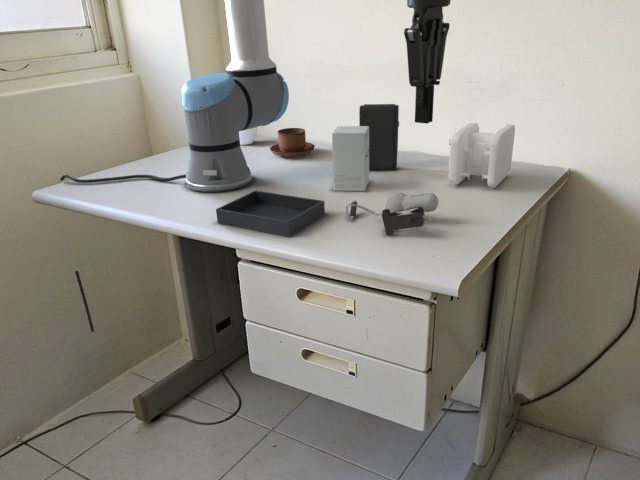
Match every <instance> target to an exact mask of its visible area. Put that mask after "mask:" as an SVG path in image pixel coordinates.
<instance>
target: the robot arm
mask: <svg viewBox="0 0 640 480" xmlns="http://www.w3.org/2000/svg"><path fill="white" fill-rule="evenodd" d="M224 3H225V4H224V6H225V13H226V21H227V29H228V30H227V31H228V37H229V46H230V48H229V49H230V55H231V61H230V62H229V64H228V65H227V67H225V69H226V73H225V72H218V73H211V74H204V75H200V76H196V77H194V78H191V79H189V80H187V81H186V82H185V83H184V84H183V86H182V88H181V101H182V102H181V107H182V109H183V113H184V114H183V115H184V120H185V128H186V135H187V141H188V146H189V156H188V165H187V171H186V174H180V175H175V176H172V177H160V176H157V175H153V174H144V173H143V174H130V175H121V176H115V177H114V176H112V177H101V178H91V179H90V178H88V179H80V178H76V177H74V176H72V175H71V174H63V175H62V176H61V177H60V178H59V181H64V180H65V179H66V178H67V179H70V180H71V181H74V182H76V183H80V184H85V183H86V184H88V183H89V184H90V183H101V182H112V181H122V180H129V179H130V180H131V179H144V178H145V179H153V180H156V181H161V182H172V181H177V180H180V179H185V183H186V187H187V188H188V189H190V190H193V191H196V192H202V193H219V192H227V191H232V190H237V189H241V188H243V187H245V186H247V185H249V184H250V183H251V182H252V180H253V179H252V172H251V168H250V167H249V166H248V164H247V159H246V158H245V155H244V153H243V151H242V148H241V145H240V138H239V131H243V130H247V129H251V128H254V127H257V128H258V127H265V126H268V125H270V124H272V123H274V122H276V121H278V120H280V119H281V118H282V117H283V115H285V113H286V111H287V108H288V105H289V100H290V92H289V86H288V83H287V82H286V81H285V79H284V76H283V75H282V74H281V73H279V72H278V71H277V64H276V63H275V61H273V60H272V59H271V57H270V55H269V54H270V52H269V43H268V32H267V21H266V20H267V19H266V10H265V0H224ZM406 5H407V7H408V8H410V9H413V14H412V17H411V18H412V19H411V24H412V25H411V26H410V27H405V28H404V30H403V36H404V38H405V43H406V55H407V56H406V57H407V71H408V83H409V85H410V87H412V88H413V87H414V88H415V100H414V101H415V102H414V103H415V105H414V123H418V124H430V123H432V122H433V118H434V100H435V99H434V97H435V96H434V95H435V86H440V84H441V81H440V80H441V78H442V72H443V65H444V58H445V51H446V44H447V37H448V34H449V30H450V23H449V22H445V21H444V13H443V12H444V11H443V8H446V7H449V6H450V5H451V0H406ZM74 273H75V276H76V280H77V283H78V284H77V285H78V287H79V290H80V295H81V297H82V301H83V305H84V308H85V312H86V316H87V320H88V324H89V328H90V332H92V333H94V332H95V330H94V328H95V327H94V324H93V320H92V316H91V312H90V309H89V306H88V302H87V298H86V295H85V291H84V287H83V284H82V281H81V276H80V273H79V270H74Z"/></svg>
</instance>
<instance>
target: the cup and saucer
mask: <svg viewBox="0 0 640 480" xmlns="http://www.w3.org/2000/svg"><path fill="white" fill-rule="evenodd" d="M306 139H307V138H306V129H305V128H302V127H287V128H282V129H279V130H277V141H278V143H276V144H273V145H272V146H270V148H269V149H270V152H272V154H274V155H276V156H279V157H287V158H294V157H301V156H306V155H308V154H310V153H312V152H313V151H314V150H315V148H316V147H315V144H314V143H311V142H307V141H306Z"/></svg>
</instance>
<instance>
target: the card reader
mask: <svg viewBox="0 0 640 480" xmlns="http://www.w3.org/2000/svg"><path fill="white" fill-rule="evenodd" d="M399 106H400V105H399V104H395V103H376V104H375V103H372V104H371V103H368V104H366V103H365V104H363V105H360V106H359V110H358V111H359V113H358V114H359V120H358V121H359V123H358V124H359V125H358V126H369V171H393V170H397V168H398V151H399V149H398V148H399V128H400V121H399V118H400V117H399V116H400V115H399V111H400V107H399Z"/></svg>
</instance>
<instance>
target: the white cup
mask: <svg viewBox="0 0 640 480" xmlns="http://www.w3.org/2000/svg"><path fill="white" fill-rule="evenodd" d="M257 134H258V127H254V128H251V129H247V130H243V131H239V138H240V146H245V145H252V144H253V143H254V142H255V139H256V136H257Z"/></svg>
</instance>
